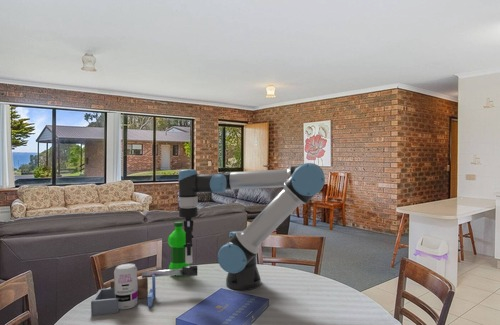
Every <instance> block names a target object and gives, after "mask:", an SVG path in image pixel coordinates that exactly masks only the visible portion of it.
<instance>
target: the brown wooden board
mask: <svg viewBox="0 0 500 325" xmlns="http://www.w3.org/2000/svg"><path fill="white" fill-rule="evenodd" d="M148 278H149V277H148ZM148 278H142V277H137V284H138V299H144V298H148V295H149V285H148V284H149V282H148V281H149V280H148ZM109 285H110V288H115V285H114V279H112V280H110V284H109Z"/></svg>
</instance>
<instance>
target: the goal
mask: <svg viewBox="0 0 500 325" xmlns="http://www.w3.org/2000/svg"><path fill="white" fill-rule="evenodd" d="M90 313H91V316H99V315H100V316H101V315H110V314H118V313H119V309H118V298H115V288H111V287H109V288H108V287H107V288H100V289H99V288H98V291H97V292H96V293H95V295H94V297H93V298H92V299H91V301H90Z"/></svg>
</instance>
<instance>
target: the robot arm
mask: <svg viewBox="0 0 500 325" xmlns="http://www.w3.org/2000/svg"><path fill="white" fill-rule="evenodd" d="M177 180H178V198H177V202H178V207H179V208H178V216H179V217H180V218H185V220H183V230H184V232H186V244H185V245H184V247H185V262H186V264H188V263H190V264H193V239H194V235H193V232H194V220H193V219H192V218H196V217H197V216H198V215H199V214H198V210H199V209H198V199H199V198H198V193H202V194H203V193H207V194H211V193H212V194H220V193H221V194H222V193H225V191H228V190H245V189H247V190H249V189H266V188H267V189H268V188H271V189H272V188H273V189H274V188H283V189H282V190H281V191H280V192H279V193H278V194H277V195H276V196H275V197H274V198H273V199H272V200H271V201H270V202H269V203H268V204H267V206H266V207H264V209H263V210H261V212H260V213H259V214H258V215H257V216H255V218H254V219H253V220H252V221H251V222H250V223H249V224H248V225H247V227H245V229H243V230H236V231H235V230H234V231H230V232H229V235H228V241H227V242H226V243H224V244H223V245H222V246H221V247H220V248H219V250H218V253H217V263H218V264H219V267H220V268H221V269H222V270H223V271H224V272H227V275H226V280H225V281H226V282H225V285H226V286H227V287H228V288H230V289H231V290H237V291H238V290H239V291H246V290H247V291H248V290H253V289H256V288H258V287H260V286H261V283H262V281H261V280H262V278H261V275H260V273H259V270H258V267H257V254H258V253H259V247H260V246H261V245H262V244H263V243H264V241H266V239H267V238H268V237H270V236H271V234H273V232H274V231H276V229H278V227H279V226H280V225H281V224H283V222H284V221H285V220H286V219H287V218H288V217H289V216H290V215H291V214H292V213H293V212H294V211H296V209H297V208H298V207H299V206H300V205H306V204H307V203H308V202H309V201H311V199H312V198H313V197H314V196H315V195H317V194H318V193H320V192H321V190H322V189H323V187H324V186H325V181H326V177H325V173H324V170H323V168H321V167H320V166H319V165H318V164H315V163H313V162H308V163H307V162H306V163H303V164H302V163H301V164H300V165H294V166H293V165H292V166H289V167H288V168H287V169H286V168H283V169H280V168H279V169H266V170H249V171H247V170H246V171H232V172H231V171H230V172H223V171H222V172H217V173H211V174H207V173H206V174H201V173H198V170H197V169H180V170H179V171H178V179H177Z"/></svg>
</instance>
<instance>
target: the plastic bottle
mask: <svg viewBox="0 0 500 325" xmlns="http://www.w3.org/2000/svg"><path fill="white" fill-rule="evenodd" d="M173 227H174V228H175V229H174V230H173V231H172V232H171V233H170V234H169V236H168V238H167V244H168V246H169V247H170V263H169V266H168V270H171V269H182V267H184V266H191V263H188V264H186V262H185V247H184V245H185V244H186V232H184V228H183V227H184V221H174V222H173ZM175 277H181V275H176V276H175Z"/></svg>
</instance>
